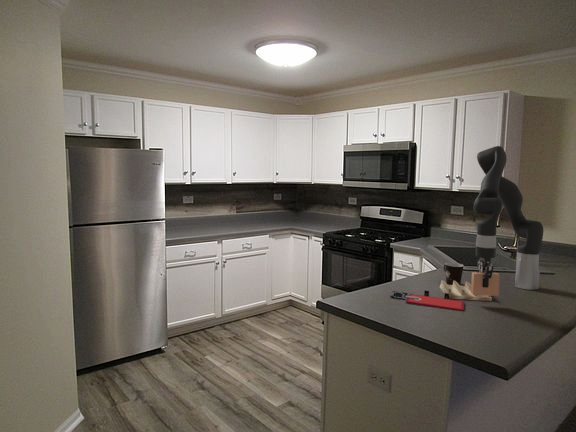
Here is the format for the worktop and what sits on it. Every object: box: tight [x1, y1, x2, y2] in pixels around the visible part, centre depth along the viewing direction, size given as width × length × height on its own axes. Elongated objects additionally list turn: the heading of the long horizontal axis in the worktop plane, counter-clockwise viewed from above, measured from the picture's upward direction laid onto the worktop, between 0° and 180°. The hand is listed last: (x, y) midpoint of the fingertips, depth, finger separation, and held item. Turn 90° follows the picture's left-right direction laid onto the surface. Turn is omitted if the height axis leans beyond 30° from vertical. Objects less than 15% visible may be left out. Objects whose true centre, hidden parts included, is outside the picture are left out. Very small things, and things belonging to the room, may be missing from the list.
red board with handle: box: [389, 290, 465, 312], centre depth 170 cm, size 30×3×15 cm
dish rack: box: [439, 279, 493, 302], centre depth 181 cm, size 18×18×4 cm
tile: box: [470, 271, 501, 297], centre depth 165 cm, size 10×3×9 cm, turn 81°
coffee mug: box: [443, 262, 465, 286], centre depth 198 cm, size 12×9×10 cm
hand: (483, 285), depth 165 cm, fingers closed on tile, 3 cm apart
